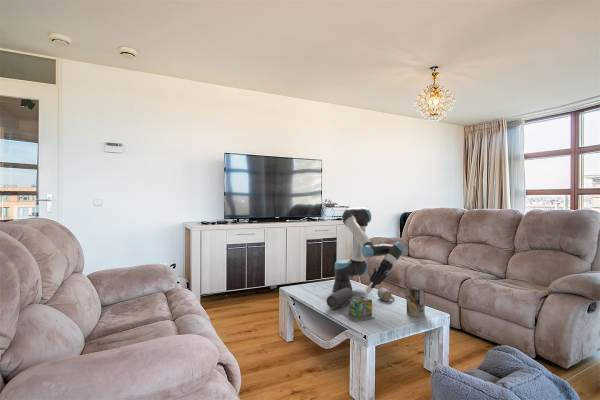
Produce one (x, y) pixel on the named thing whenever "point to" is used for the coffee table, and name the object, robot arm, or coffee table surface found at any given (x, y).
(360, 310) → the chalk box
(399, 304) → the coffee table surface
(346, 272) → the robot arm
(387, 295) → the ceramic mug
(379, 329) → the coffee table surface
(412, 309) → the coffee box
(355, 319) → the mat
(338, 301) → the bluetooth speaker
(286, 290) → the coffee table surface
